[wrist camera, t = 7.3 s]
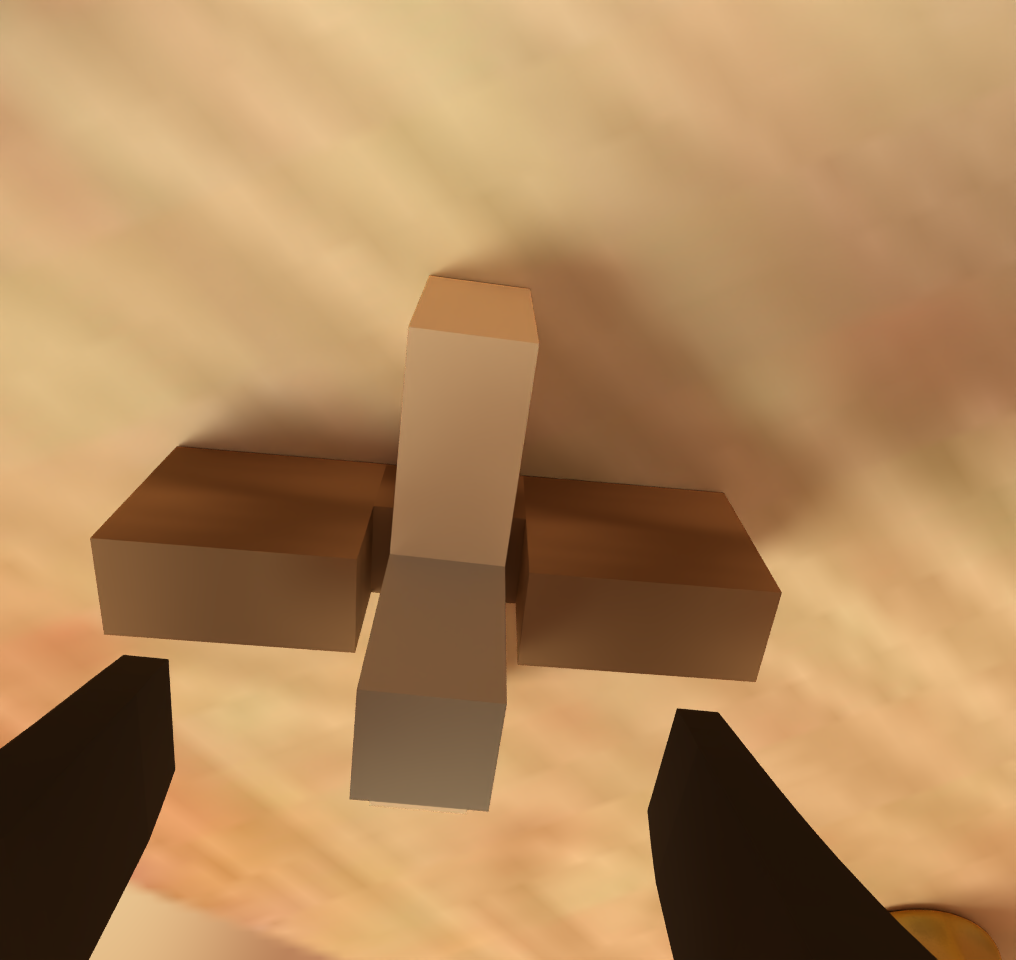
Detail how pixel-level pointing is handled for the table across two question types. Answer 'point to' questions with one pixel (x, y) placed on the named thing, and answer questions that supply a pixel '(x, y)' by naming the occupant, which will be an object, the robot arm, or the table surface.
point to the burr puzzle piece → (448, 555)
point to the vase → (948, 935)
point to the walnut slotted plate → (366, 548)
